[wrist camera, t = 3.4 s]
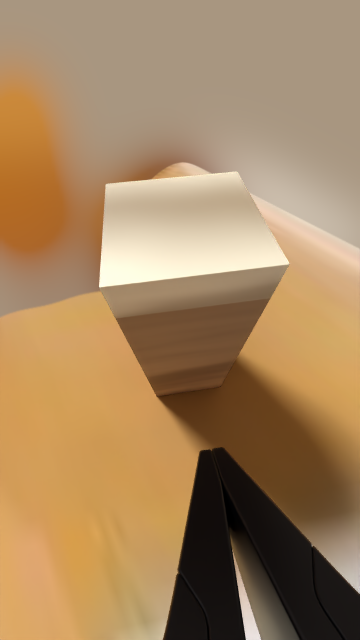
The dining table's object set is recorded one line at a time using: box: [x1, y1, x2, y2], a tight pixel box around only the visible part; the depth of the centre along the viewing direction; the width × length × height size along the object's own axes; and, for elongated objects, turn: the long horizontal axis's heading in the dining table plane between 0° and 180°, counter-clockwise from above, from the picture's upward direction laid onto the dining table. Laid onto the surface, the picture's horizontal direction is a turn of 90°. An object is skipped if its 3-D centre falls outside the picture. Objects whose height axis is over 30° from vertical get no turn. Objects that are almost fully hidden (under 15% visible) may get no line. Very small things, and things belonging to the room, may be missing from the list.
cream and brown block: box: [99, 172, 289, 396], centre depth 12 cm, size 5×5×13 cm
